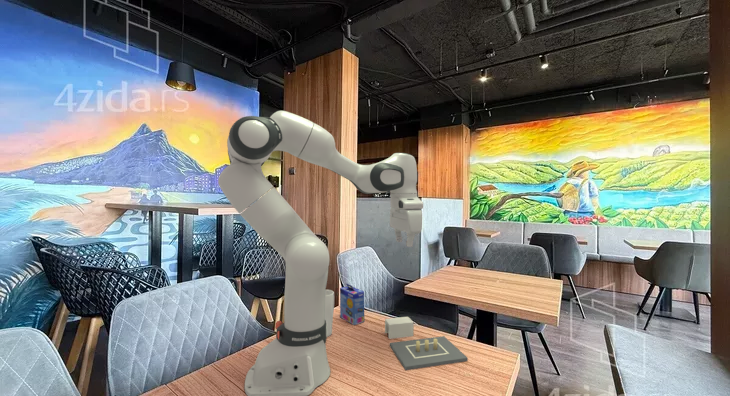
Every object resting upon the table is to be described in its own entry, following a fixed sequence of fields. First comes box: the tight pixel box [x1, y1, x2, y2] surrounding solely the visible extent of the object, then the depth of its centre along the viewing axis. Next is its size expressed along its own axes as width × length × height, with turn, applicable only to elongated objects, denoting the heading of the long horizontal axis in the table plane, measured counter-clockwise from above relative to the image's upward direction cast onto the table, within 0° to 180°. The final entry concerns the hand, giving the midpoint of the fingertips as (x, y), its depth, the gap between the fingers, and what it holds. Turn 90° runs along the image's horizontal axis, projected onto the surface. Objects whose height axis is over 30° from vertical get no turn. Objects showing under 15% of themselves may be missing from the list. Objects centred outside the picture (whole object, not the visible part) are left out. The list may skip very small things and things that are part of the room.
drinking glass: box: [325, 289, 335, 337], centre depth 105 cm, size 7×7×15 cm
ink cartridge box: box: [339, 283, 365, 326], centre depth 117 cm, size 10×6×14 cm, turn 40°
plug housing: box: [384, 316, 414, 340], centre depth 105 cm, size 9×5×5 cm, turn 104°
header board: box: [389, 335, 469, 371], centre depth 93 cm, size 20×14×4 cm
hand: (404, 244), depth 98 cm, fingers open, 8 cm apart
